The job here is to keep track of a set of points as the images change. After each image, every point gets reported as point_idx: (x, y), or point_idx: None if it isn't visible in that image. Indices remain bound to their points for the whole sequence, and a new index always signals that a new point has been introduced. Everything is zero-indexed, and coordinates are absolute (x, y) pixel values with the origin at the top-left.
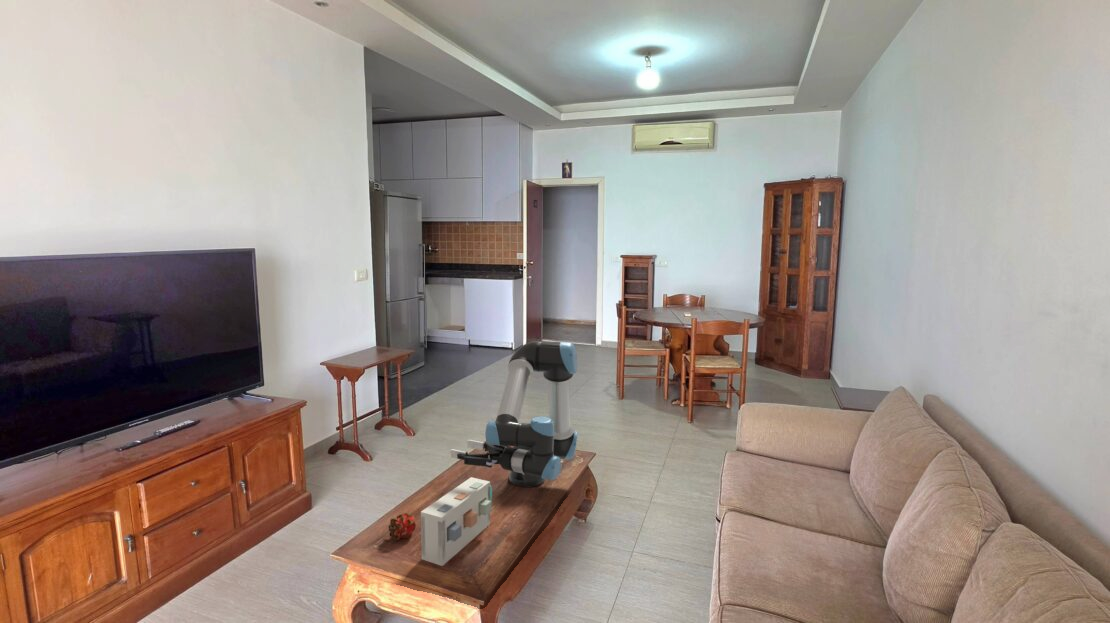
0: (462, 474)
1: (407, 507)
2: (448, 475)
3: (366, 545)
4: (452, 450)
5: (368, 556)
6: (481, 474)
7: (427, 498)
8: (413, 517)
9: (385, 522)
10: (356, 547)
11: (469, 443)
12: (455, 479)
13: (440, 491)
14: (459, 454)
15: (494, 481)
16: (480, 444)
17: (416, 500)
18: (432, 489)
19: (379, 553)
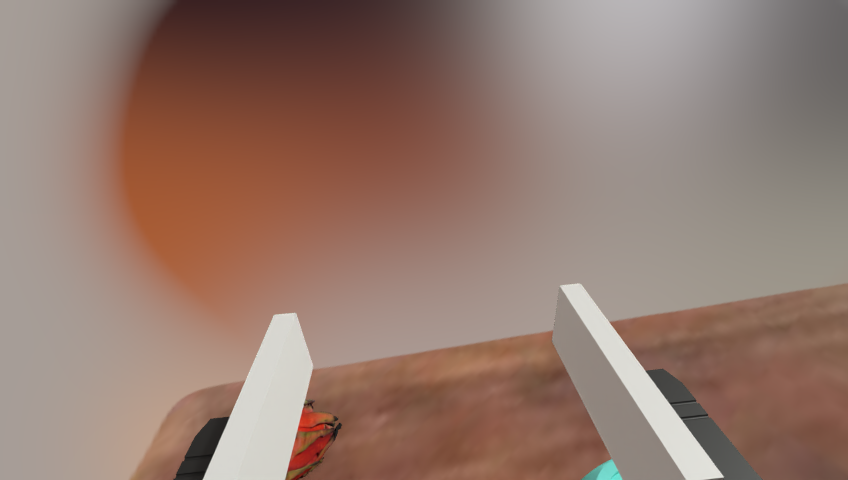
0: (687, 340)
1: (432, 357)
2: (639, 319)
3: (218, 412)
4: (269, 334)
5: (156, 459)
6: (763, 383)
7: (504, 362)
8: (295, 445)
9: (341, 368)
10: (206, 399)
11: (565, 327)
12: (647, 346)
13: (562, 362)
14: (207, 444)
15: (809, 463)
16: (649, 451)
17: (475, 349)
18: (550, 339)
19: (174, 475)
